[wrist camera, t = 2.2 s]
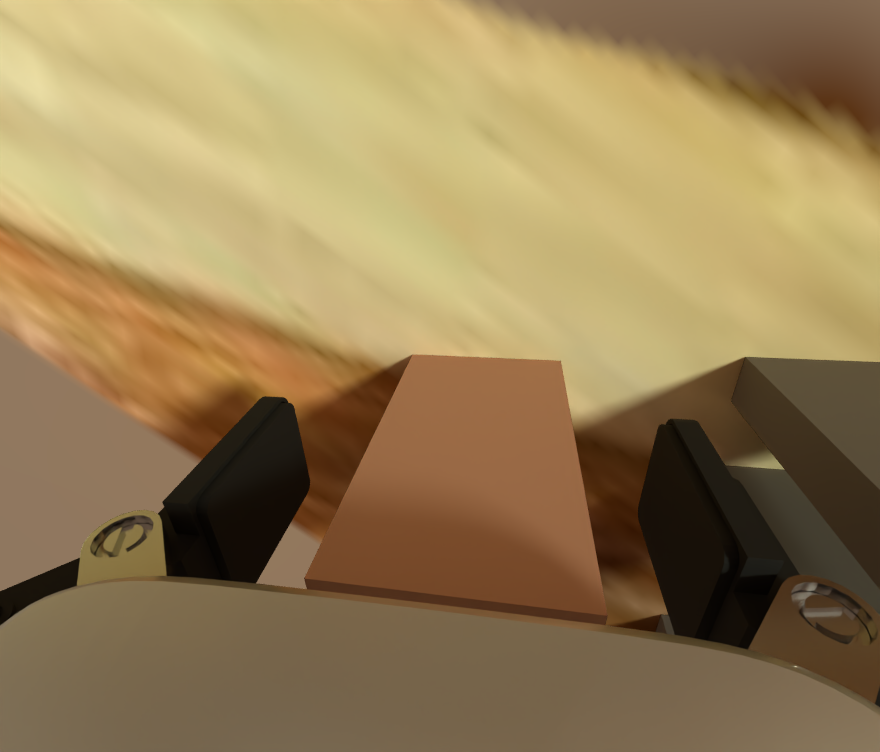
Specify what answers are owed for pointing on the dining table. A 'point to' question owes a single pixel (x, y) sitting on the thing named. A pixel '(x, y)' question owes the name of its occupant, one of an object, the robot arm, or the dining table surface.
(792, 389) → the domino
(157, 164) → the dining table surface
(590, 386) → the dining table surface
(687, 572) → the robot arm
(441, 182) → the dining table surface
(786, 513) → the domino
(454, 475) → the domino
